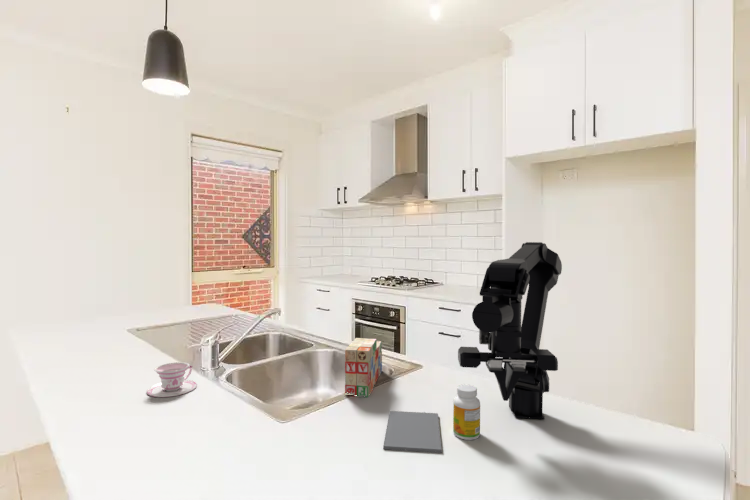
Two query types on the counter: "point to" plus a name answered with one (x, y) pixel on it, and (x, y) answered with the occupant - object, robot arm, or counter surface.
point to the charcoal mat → (413, 432)
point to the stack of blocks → (362, 366)
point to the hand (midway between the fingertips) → (505, 399)
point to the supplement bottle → (466, 413)
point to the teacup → (172, 380)
